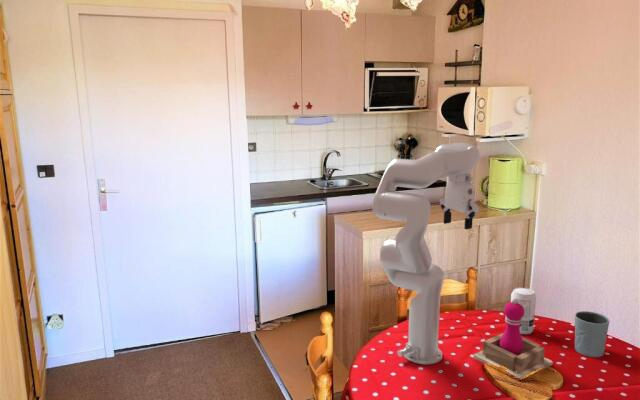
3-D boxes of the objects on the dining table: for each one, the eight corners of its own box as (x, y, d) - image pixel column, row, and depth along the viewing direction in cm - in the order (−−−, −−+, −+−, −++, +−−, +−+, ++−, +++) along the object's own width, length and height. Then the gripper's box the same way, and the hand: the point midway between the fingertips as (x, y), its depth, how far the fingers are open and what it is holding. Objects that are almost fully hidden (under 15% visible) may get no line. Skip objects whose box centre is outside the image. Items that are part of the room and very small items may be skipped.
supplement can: (504, 326, 184) (506, 288, 181) (522, 323, 186) (525, 285, 183) (518, 336, 176) (522, 296, 173) (538, 333, 179) (541, 293, 176)
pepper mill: (524, 363, 155) (529, 303, 152) (500, 361, 157) (504, 302, 153) (520, 352, 162) (525, 295, 158) (497, 350, 164) (501, 293, 160)
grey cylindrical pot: (597, 361, 159) (601, 326, 157) (566, 349, 167) (569, 316, 164) (610, 351, 165) (614, 317, 163) (579, 340, 173) (582, 308, 171)
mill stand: (519, 381, 148) (520, 364, 147) (473, 357, 162) (474, 341, 161) (552, 364, 157) (553, 348, 156) (506, 343, 171) (507, 328, 170)
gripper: (487, 180, 169) (484, 229, 172) (448, 174, 183) (446, 219, 186) (472, 182, 165) (469, 232, 168) (434, 176, 179) (432, 222, 182)
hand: (457, 225), depth 177 cm, fingers open, 9 cm apart
